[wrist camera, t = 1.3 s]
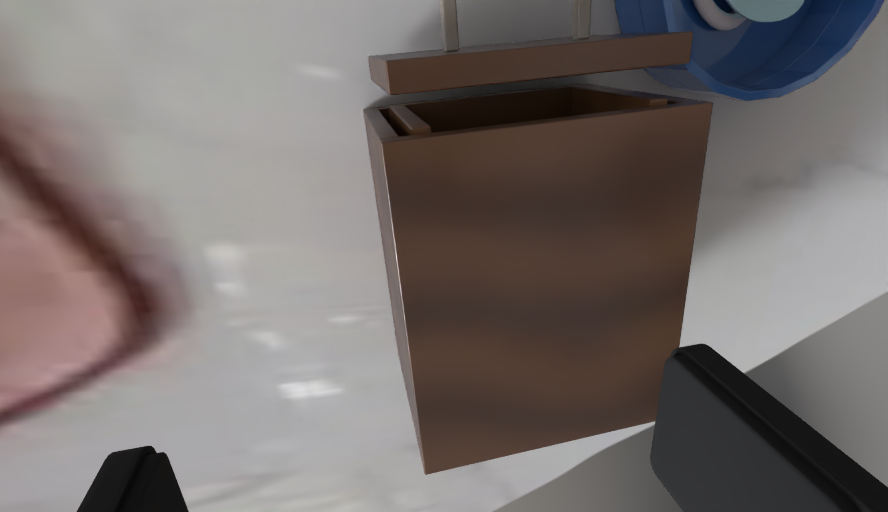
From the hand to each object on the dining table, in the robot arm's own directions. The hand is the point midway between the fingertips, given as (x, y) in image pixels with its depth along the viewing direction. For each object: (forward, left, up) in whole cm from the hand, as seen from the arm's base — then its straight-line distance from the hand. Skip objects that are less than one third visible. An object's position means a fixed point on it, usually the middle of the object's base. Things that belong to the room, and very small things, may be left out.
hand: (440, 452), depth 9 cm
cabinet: (+4, +7, -22) cm, 23 cm away
